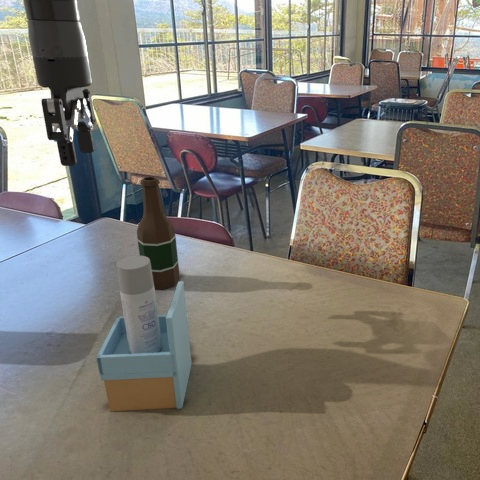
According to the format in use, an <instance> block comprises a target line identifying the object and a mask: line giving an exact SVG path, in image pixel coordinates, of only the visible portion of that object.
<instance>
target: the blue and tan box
mask: <svg viewBox="0 0 480 480" xmlns="http://www.w3.org/2000/svg"><path fill="white" fill-rule="evenodd" d="M186 302H187V301H186V293H185V283H184V281H183V280H181V281H180V280H178V282H177V283H176V287H175V291H174V293H173V296H172V299H171V302H170V305H169V308H168V311H167V314H158V318H159V326H160V334H161V342H162V350H161V352H159V353H137V354H130V350H129V344H128V338H127V332H126V326H125V320H124V315H121V316H120V315H119V316H117V317H116V318H115V320H114V322H113V324H112V326H111V328H110V330H109V332H108V333H107V336H106V338H105V340H104V342H103V343H102V345H101V347H100V350H99V352H98V354H97V356H96V358H95V359H96V363H97V369H98V373H99V378H100V381H103V383H104V388H105V393H106V398H107V403H108V408H109V412H128V411H144V410H160V409H161V410H162V409H176V410H182V409H183V407H184V402H185V397H186V393H187V389H188V383H189V380H190V374H191V370H192V363H193V362H192V353H191V343H190V342H191V341H190V335H189V323H188V314H187V303H186Z"/></svg>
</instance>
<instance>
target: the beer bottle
mask: <svg viewBox="0 0 480 480" xmlns="http://www.w3.org/2000/svg"><path fill="white" fill-rule="evenodd" d="M160 182H161V181H160V179H159V178H157V177H155V176H146V177H143V178H142V179H140V183H139V184H140V185H141V189H142V206H143V207H142V208H143V212H142V217H141V219H140V221H139V223H138V226H137V230H136V239H137V246H138V254H139V256H146V257H148V258H149V259H150V263H151V269H152V276H153V282H154V288H155V290H157V291H158V290H160V291H163V290H167V289H170V288H173V287H175V286H176V285H177V284H178V281H180V266H179V257H178V246H177V236H176V231H175V227H174V225H173V223H172V221H171V220H170V218H169V217H168V216H167V215H166V213H165V210H164V207H163V203H162V196H161V191H160V185H159V184H161V183H160Z"/></svg>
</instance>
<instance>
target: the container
mask: <svg viewBox="0 0 480 480" xmlns="http://www.w3.org/2000/svg"><path fill="white" fill-rule="evenodd" d="M116 271H117V280H118V288H119V294H120V295H119V296H120V301H121V307H122V312H123V316H124V320H125V326H126V332H127V338H128V344H129V350H130V354H137V353H159V352H161V350H162V342H161V334H160V326H159V318H158V315H159V311H158V304H157V296H156V289H155V288H154V282H153V276H152V269H151V263H150V259H149V258H148V257H146V256H140V255H129V256H125V257H123V258H121V259H119V260H118V261H117V262H116Z"/></svg>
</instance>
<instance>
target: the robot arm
mask: <svg viewBox="0 0 480 480" xmlns="http://www.w3.org/2000/svg"><path fill="white" fill-rule="evenodd" d="M22 1H23V6H24V7H23V8H24V12H25V16H26V23H27V33H28V41H29V46H30V52H31V56H32V61H33V67H34V71H35V75H36V81H37V84H38V86H39V87H42V88H45V89H47V88H48V89H49V90H50V97H49V98H41V100H40V101H41V103H40V104H41V108H42V113H43V114H42V115H43V119H44V126H45V131H46V136H47V140H48V141H53V142H54V143H56V146H57V151H58V156H59V162H60V165H61V166H63V167H75V166H76V165H77V164H78V159H77V153H76V149H75V143H74V131H75V130H76V137H77V141H78V147H79V151H80V153H82V154H92V153H94V152H95V144H94V138H93V132H92V131H93V130H94V125H96V121H97V119H96V115H95V111H94V105H93V99H92V94H91V93H92V92H91V89H90V88H87V87H90V86H91V85H92V83H93V80H92V74H91V70H90V69H91V68H90V61H89V55H88V49H87V44H86V43H87V42H86V37H85V34H84V30H83V27H82V23H81V16H80V10H79V5H78V4H79V3H78V0H22Z"/></svg>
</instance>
